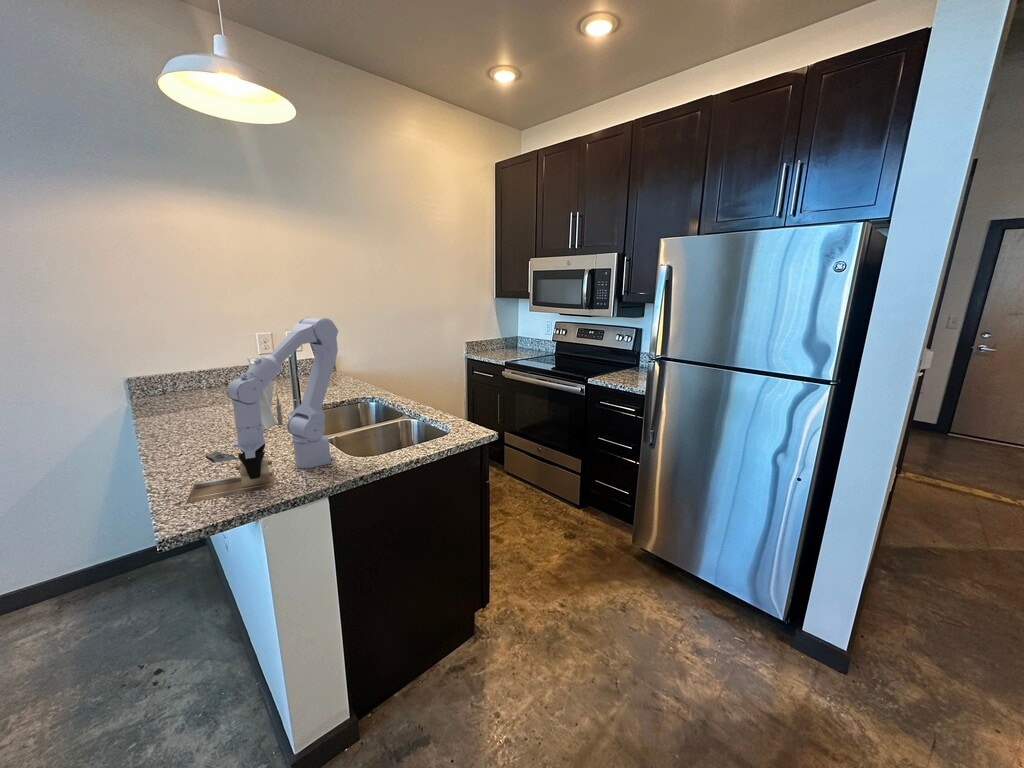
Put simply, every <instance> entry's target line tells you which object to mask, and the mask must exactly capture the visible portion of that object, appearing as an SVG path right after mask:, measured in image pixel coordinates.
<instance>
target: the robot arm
mask: <svg viewBox="0 0 1024 768" xmlns="http://www.w3.org/2000/svg"><path fill="white" fill-rule="evenodd" d="M338 334H339V329H338V327H337V326H336V325H335V322H334V321H332V320H331V319H330V318H327V317H326V318H325V317H323V318H320V317H319V318H318V317H309V316H305V317H302V318H301V319H300V320H299V321H298V322H297V323H295V324H294V325H293V327H292V329H291V330H290V332H289V333H288V334H287V335H286V336H285V338H284V339H283V340H282V341H281V342H280V343H279V344H278V345H277V347H276V348H275V349H274V350H273V351H272V352H271V353H270V354H269V355H263V356H261V357H260V358H254V359H255V360H253V361H254V362H255V364H254V365H253V366H251V367H250V368H249V367H248V369H247V370H246V372H242V373H241V374H240V375H239V377H240V378H237V379H233V380H232V381H231V382H230V383H228V384H229V385H228V388H227V390H225V394H226V395H227V397H228V398H229V399H230V400H232V407H233V416H234V417H233V418H234V424H235V425H234V426H235V430H236V432H235V433H236V439H237V442H233V443H232V448H238V449H240V451H241V453H238V457H237V458H238V460H240V461H241V462H242V463H243V464H244V466H245V468H246V470H247V473H248V475H249V477H250V479H256V478H260V473H261V462H262V459H263V456H265V455H266V454H265V453H266V452H265V451H264V449H265V448H266V439H265V435H264V430H263V427H262V419H261V410H260V403H259V399H261V398H262V396H263V390H264V388H265V387H266V386H267V385H268V384H269V383H270V382H271V381H272V382H273V379H275V377H277V376H278V375H279V373H280V372H281V371H282V364H283V362H285V361H286V360H287V359H288V358H289V357H290V356H292V354H293V353H295V352H296V350H298V349H299V348H300V347H302V346H303V345H305V344H310V345H311V347H312V348H313V350H314V351H315V355H314V359H313V363H312V366H311V369H310V373H309V376H308V379H307V380H308V381H307V383H306V385H305V391H304V393H303V396H302V400H301V403H300V405H298V406H297V407H296V408H295V409H294V410H293V412H292V413H293V414H291V416H290V417H289V418H288V419H287V422H286V430H287V431H288V433H289V434H290V435H292V442H293V443H292V444H293V445H292V446H293V451H294V454H293V455H294V461H295V462H294V463H295V467H296V468H298V469H299V468H300V469H308V468H310V469H311V468H313V467H318V466H323V465H328V464H331V463H332V461H331V460H332V456H331V455H332V454H331V451H330V450H331V449H330V441H329V437H328V436H327V435H325V436H323V435H324V433H325V431H326V430H325V429H326V427H325V420H326V415H325V413H324V411H323V408H322V407H323V405H324V401H325V397H326V393H327V391H328V387H329V382H330V380H331V377H332V372H333V369H334V366H335V362H336V359H337V355H338V352H339V351H338V350H339V349H338V339H337V337H338ZM240 461H239V462H240Z"/></svg>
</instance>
